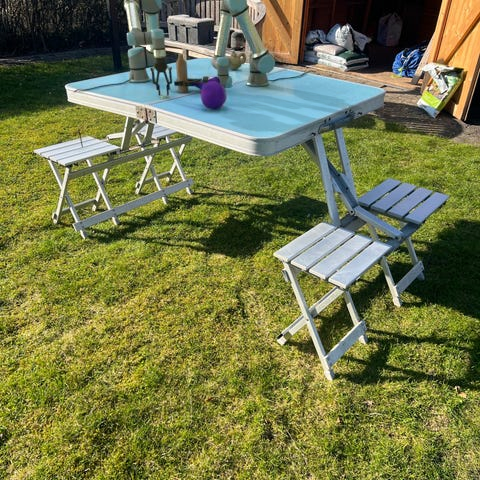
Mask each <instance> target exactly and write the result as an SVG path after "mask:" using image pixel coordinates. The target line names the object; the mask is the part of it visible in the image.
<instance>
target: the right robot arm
mask: <svg viewBox="0 0 480 480" xmlns="http://www.w3.org/2000/svg"><path fill="white" fill-rule="evenodd" d="M249 10H250V7H249V4H248V0H221V2H220V8H219V13H220V18H219V24H218V30H217V36H216V42H215V47H214V53H213V58H212V59H211V66H212V67H213V69H214V70H216V72H217V75H216V76H215V75H213V76H211V75H210V76H207V75H206V76H203V77H202V78H194V77H193V78H192V77H188V82H185V81H177V80H174V81H173V85H174V87H178V86H184V87H187V86H188V87H194V86H193V85H191V84H189V82H203V83H207V82H208V80H209V79H210V78H213V77H218V78H219V79H220V84H221V85H223V87H224V88H225V89H232V87H233V76H230V75H229V74H230V70H229V62H228V58H227V57H228V56H226V53H227V47H228V42H229V38H230V33H231V26H232V22H233V21H232V20H233V19H235V20H236V22H237V24H238V26H239V29H240V30H241V33H242V35H243V37H244V38H245V41H246V43H247V45H248V47H249V49H250V51H249V55H248V57H249V58H248V59H249V60H248V61H249V74H248V78H247V81H246V85H247V86H248V87H253V88H254V87H256V88H257V87H259V88H261V87H266V86H269V82H275V81H278V80H288V79H295V78H299V77H302V76H303V75H305V74H308V73H311V72H313V73H316V71H315V70H309V71H305V72H303V73H302V74H299V75H296V76H291V77H280V78H276V79H269V78H268V75H267V74H269V73H271V72H272V71H273V70H274V69H275V66H276V60H275V58H274V56H272V55H271V53H270V51H269V48H267V47H265V46H264V43H263V41H262V39H261V37H260V35H259V33H258V31H257V27H256V26H255V24H254V22H253V19H252V16H251V14H250V13H249Z"/></svg>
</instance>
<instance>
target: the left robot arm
mask: <svg viewBox="0 0 480 480" xmlns="http://www.w3.org/2000/svg"><path fill="white" fill-rule="evenodd" d="M123 9H124V11H125V12H126V19H127V24H128V32H127V33H126V40H127V45H128V46H129V47H130V46H131V47H132V46H134V47H132V48H130V49H128V50H127V58H128V64H129V65H128V66H129V76H128V79H127V80H125V81H123V82H118V83H108V84H103V85H99V86H94V87H90V88H86V89H85V88H84V89H81V88H80V89H78V88H77V89H75V90H74V91H73V93H76V92H78V91H79V92H80V91H81V92H82V91H83V92H85V91H89V90H94V89H98V88H103V87H109V86H115V85H117V86H118V85H124V84H125V83H128V82H129V83H133V84H141V83H148V82H150V76H149V74H148V71H147V67H150V68H149V69H150V71H151V72H150V73H151V79H152V84H153V85H154V86H155V88H156V91H158V92H157V94H158V96H160V97H161V86H160V85H161V84H159V81H160V74H161V73H162V74H163V76H164V78H165V81H166V85H165V86H166V95H167V97H168V96H170V92H169V91H170V90H171V84H173V75H172V74H173V73H172V70H173V67H172V66H169V65H168V62H167V61H168V60H167V57H166V56H167V51H166V42H165V33H164V29H162V28H160V23H159V22H160V21H159V14H160V12H161V10H162V9H163V5H162V0H123ZM139 10H142V13H144V14H145V23H146V24H145V25H146V31H142V26H141V19H140V14H139ZM136 46H137V47H136ZM143 46H146V48H144V47H143ZM155 71H156V75H155ZM167 71H168V75H167ZM155 76H156V77H155ZM168 76H169V77H168ZM77 132H78V136H79V140H80V144H81V148H83V147H84V146H83V141H82V136H81V130H80V129H78V131H77Z"/></svg>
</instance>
